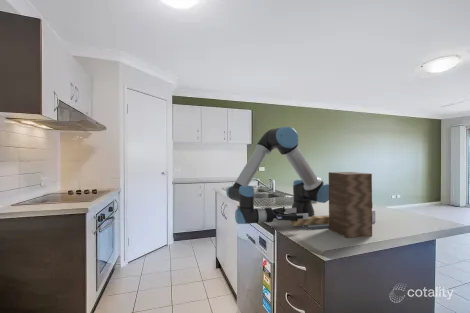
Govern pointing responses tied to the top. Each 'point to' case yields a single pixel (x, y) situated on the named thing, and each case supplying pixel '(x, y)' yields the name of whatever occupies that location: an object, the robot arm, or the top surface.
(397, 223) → the top surface
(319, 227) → the mat
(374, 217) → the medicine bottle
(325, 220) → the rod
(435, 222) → the top surface
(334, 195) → the stand
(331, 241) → the top surface
